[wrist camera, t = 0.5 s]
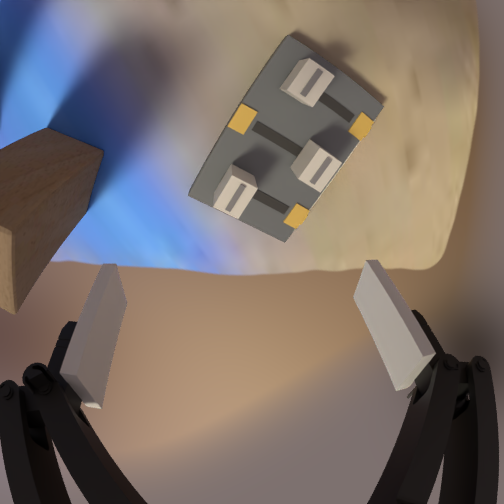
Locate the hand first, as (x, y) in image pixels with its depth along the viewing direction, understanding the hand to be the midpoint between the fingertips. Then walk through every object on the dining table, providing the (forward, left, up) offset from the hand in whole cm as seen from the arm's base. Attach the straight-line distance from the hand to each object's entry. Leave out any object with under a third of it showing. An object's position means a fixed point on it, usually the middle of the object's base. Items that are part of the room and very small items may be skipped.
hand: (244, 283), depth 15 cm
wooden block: (-20, -11, -23) cm, 32 cm away
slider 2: (+1, +12, -20) cm, 24 cm away
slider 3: (+7, +5, -20) cm, 22 cm away
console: (+4, +5, -23) cm, 24 cm away
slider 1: (+1, -2, -20) cm, 20 cm away
